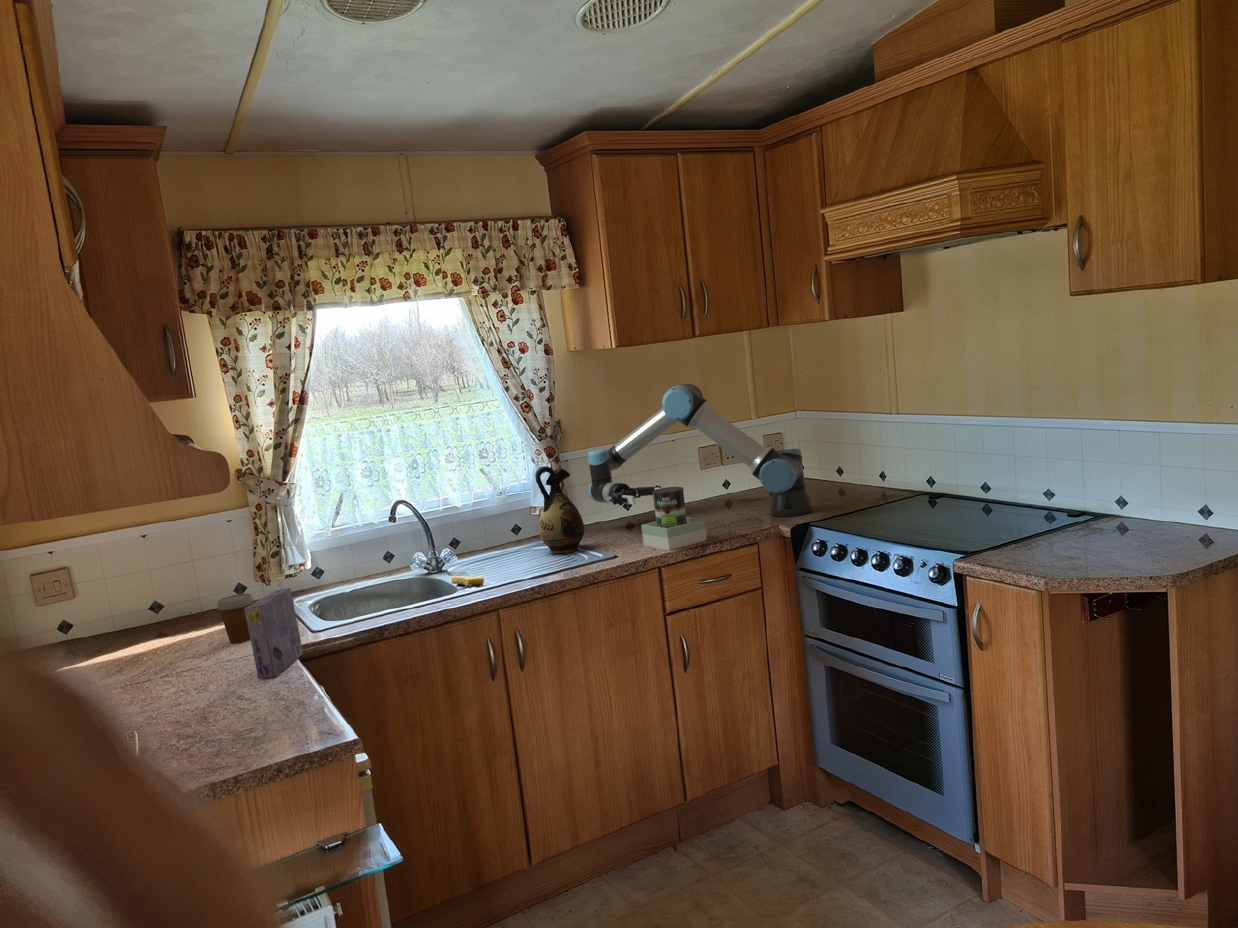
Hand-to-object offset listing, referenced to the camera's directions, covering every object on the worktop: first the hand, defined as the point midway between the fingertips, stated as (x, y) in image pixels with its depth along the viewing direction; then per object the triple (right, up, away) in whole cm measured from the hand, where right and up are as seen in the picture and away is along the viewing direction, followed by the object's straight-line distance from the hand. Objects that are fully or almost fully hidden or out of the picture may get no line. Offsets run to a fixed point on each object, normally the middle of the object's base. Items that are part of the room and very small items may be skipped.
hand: (650, 496), depth 323 cm
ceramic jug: (-30, -19, +3) cm, 36 cm away
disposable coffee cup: (-115, -38, -60) cm, 135 cm away
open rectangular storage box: (+8, -15, -8) cm, 19 cm away
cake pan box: (-93, -39, -91) cm, 136 cm away
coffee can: (+7, -12, -8) cm, 16 cm away
